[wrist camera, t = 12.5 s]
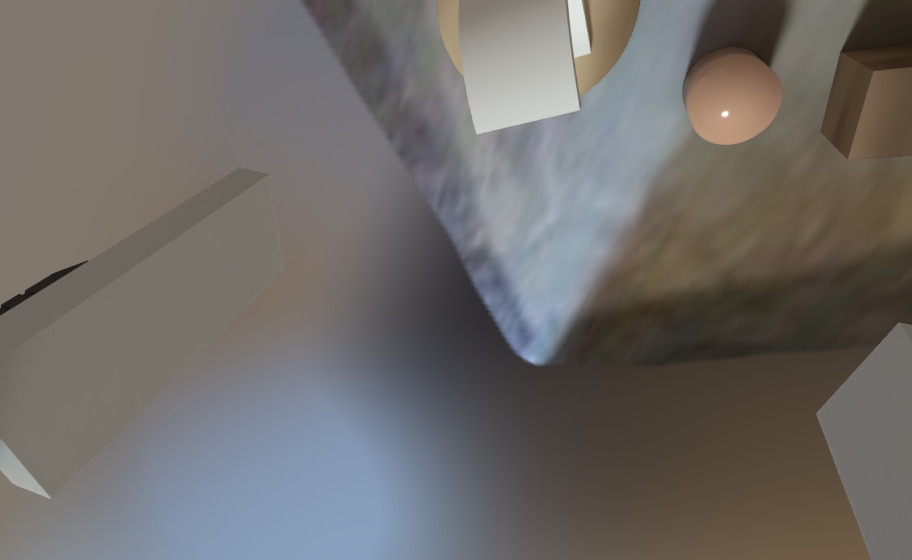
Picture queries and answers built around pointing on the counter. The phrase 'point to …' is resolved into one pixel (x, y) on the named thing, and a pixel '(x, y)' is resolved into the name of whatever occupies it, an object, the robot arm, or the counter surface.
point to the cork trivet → (608, 25)
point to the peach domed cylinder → (731, 95)
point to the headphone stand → (521, 59)
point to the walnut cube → (871, 103)
